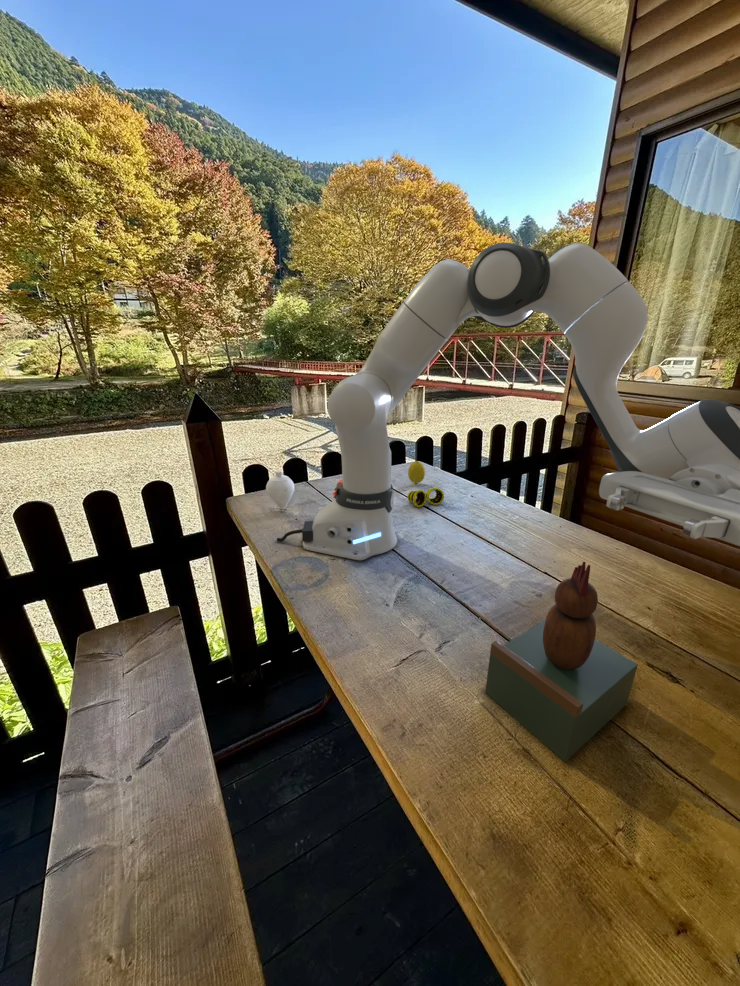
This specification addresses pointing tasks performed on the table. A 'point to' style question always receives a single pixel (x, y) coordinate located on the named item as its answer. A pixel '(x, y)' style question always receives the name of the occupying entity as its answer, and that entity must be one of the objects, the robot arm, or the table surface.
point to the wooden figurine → (571, 621)
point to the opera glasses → (420, 497)
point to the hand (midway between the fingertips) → (647, 516)
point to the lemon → (416, 472)
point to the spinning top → (280, 489)
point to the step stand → (558, 690)
